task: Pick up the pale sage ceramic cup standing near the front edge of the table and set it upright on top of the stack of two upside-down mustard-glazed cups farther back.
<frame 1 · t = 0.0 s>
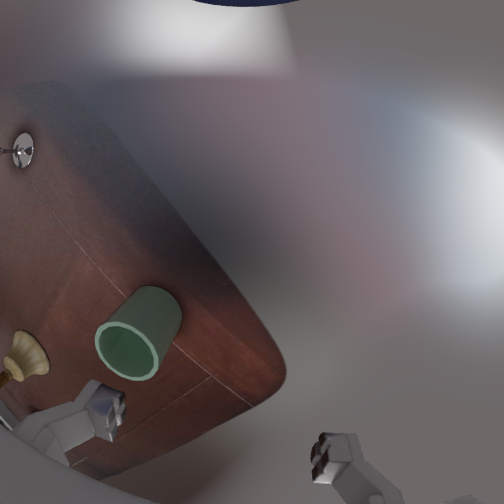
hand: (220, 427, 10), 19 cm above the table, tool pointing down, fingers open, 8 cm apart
sage cup: (154, 312, 30), on the table
hand bell: (32, 351, 35), on the table
alarm clock: (12, 425, 45), on the table
wineglass: (23, 150, 26), on the table
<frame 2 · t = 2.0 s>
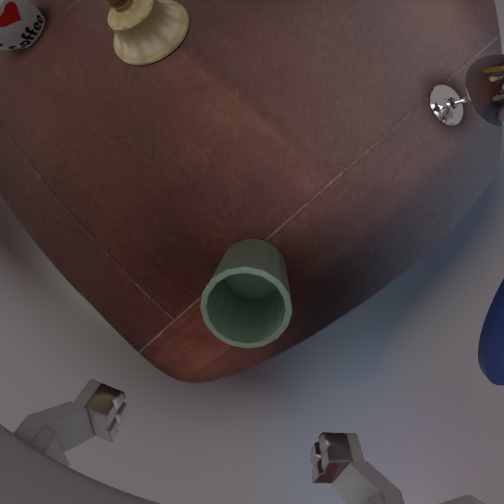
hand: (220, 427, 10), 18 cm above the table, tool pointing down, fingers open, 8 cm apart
sage cup: (252, 271, 28), on the table
hand bell: (151, 31, 22), on the table
wineglass: (446, 105, 22), on the table
cup: (32, 32, 21), on the table
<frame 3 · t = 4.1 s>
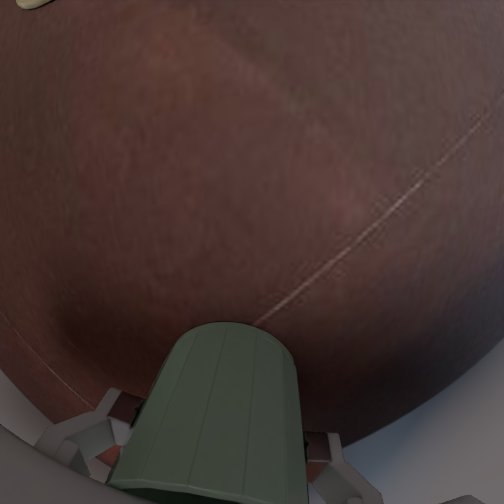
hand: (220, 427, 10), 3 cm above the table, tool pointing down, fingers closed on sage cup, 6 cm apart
sage cup: (231, 376, 13), on the table, touching gripper
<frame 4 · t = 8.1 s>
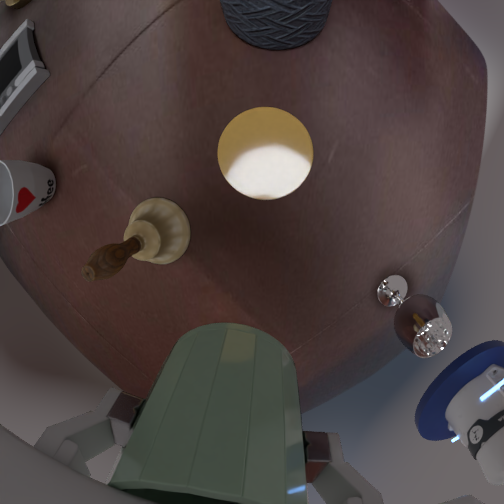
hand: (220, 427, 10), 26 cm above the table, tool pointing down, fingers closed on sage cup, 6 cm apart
sage cup: (230, 377, 13), point 22 cm above the table, touching gripper
cup stack: (267, 158, 32), on the table
hand bell: (159, 230, 35), on the table
vase: (275, 13, 27), on the table
alarm clock: (10, 81, 29), on the table
wineglass: (392, 290, 35), on the table
cup: (45, 184, 34), on the table
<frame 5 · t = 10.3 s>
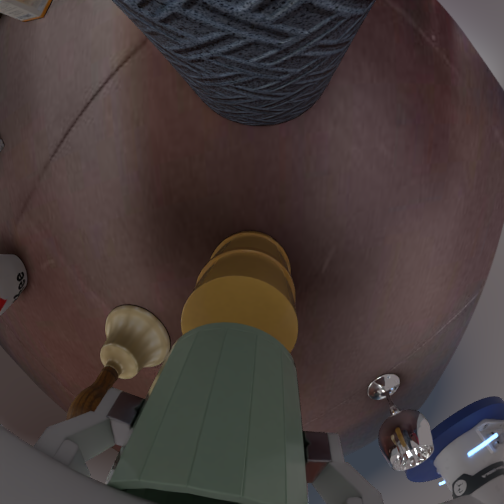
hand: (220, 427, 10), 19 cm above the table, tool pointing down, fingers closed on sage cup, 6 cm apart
sage cup: (230, 376, 13), point 15 cm above the table, touching gripper
cup stack: (249, 270, 28), on the table
hand bell: (137, 335, 31), on the table
vase: (260, 66, 23), on the table
wineglass: (383, 386, 32), on the table
cup: (16, 271, 30), on the table
when the fingers open (14 cm above the table, at t = 12.0 s): sage cup stays where it is, resting on cup stack.
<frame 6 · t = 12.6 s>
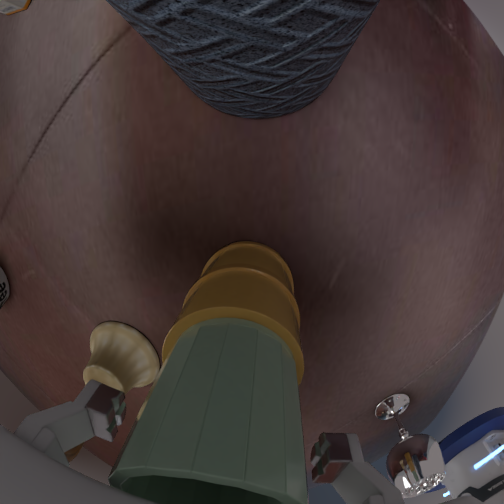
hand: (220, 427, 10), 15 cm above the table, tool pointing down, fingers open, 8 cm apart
sage cup: (232, 371, 14), point 11 cm above the table, touching cup stack
cup stack: (247, 285, 24), on the table
hand bell: (124, 354, 28), on the table
vase: (258, 51, 19), on the table
wineglass: (391, 405, 28), on the table
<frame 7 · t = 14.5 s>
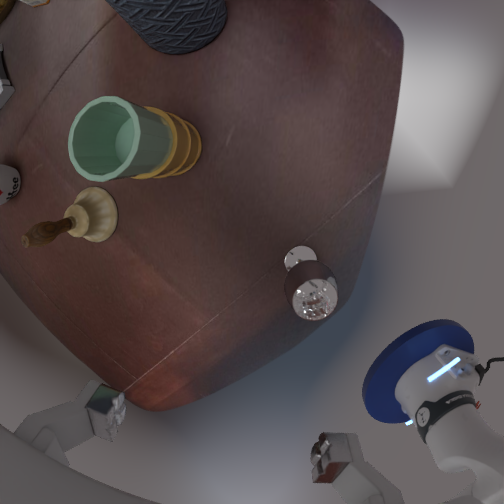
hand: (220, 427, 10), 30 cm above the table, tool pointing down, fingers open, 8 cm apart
sage cup: (142, 142, 25), point 11 cm above the table, touching cup stack
cup stack: (173, 147, 36), on the table
hand bell: (95, 214, 39), on the table
lamp: (1, 10, 25), on the table
vase: (184, 21, 30), on the table
wineglass: (300, 260, 40), on the table
cup: (12, 181, 37), on the table
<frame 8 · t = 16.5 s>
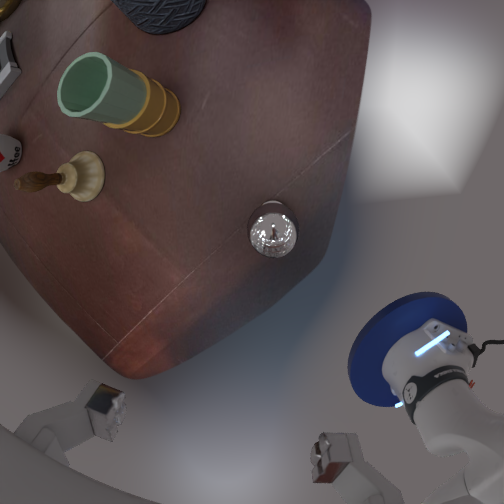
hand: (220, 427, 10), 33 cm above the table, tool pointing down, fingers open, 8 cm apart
sage cup: (121, 98, 27), point 11 cm above the table, touching cup stack
cup stack: (156, 112, 38), on the table
hand bell: (85, 176, 41), on the table
lamp: (11, 3, 29), on the table
vase: (170, 6, 32), on the table
wineglass: (272, 216, 41), on the table
cup: (15, 152, 40), on the table
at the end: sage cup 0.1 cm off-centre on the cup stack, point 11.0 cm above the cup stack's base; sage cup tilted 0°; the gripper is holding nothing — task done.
